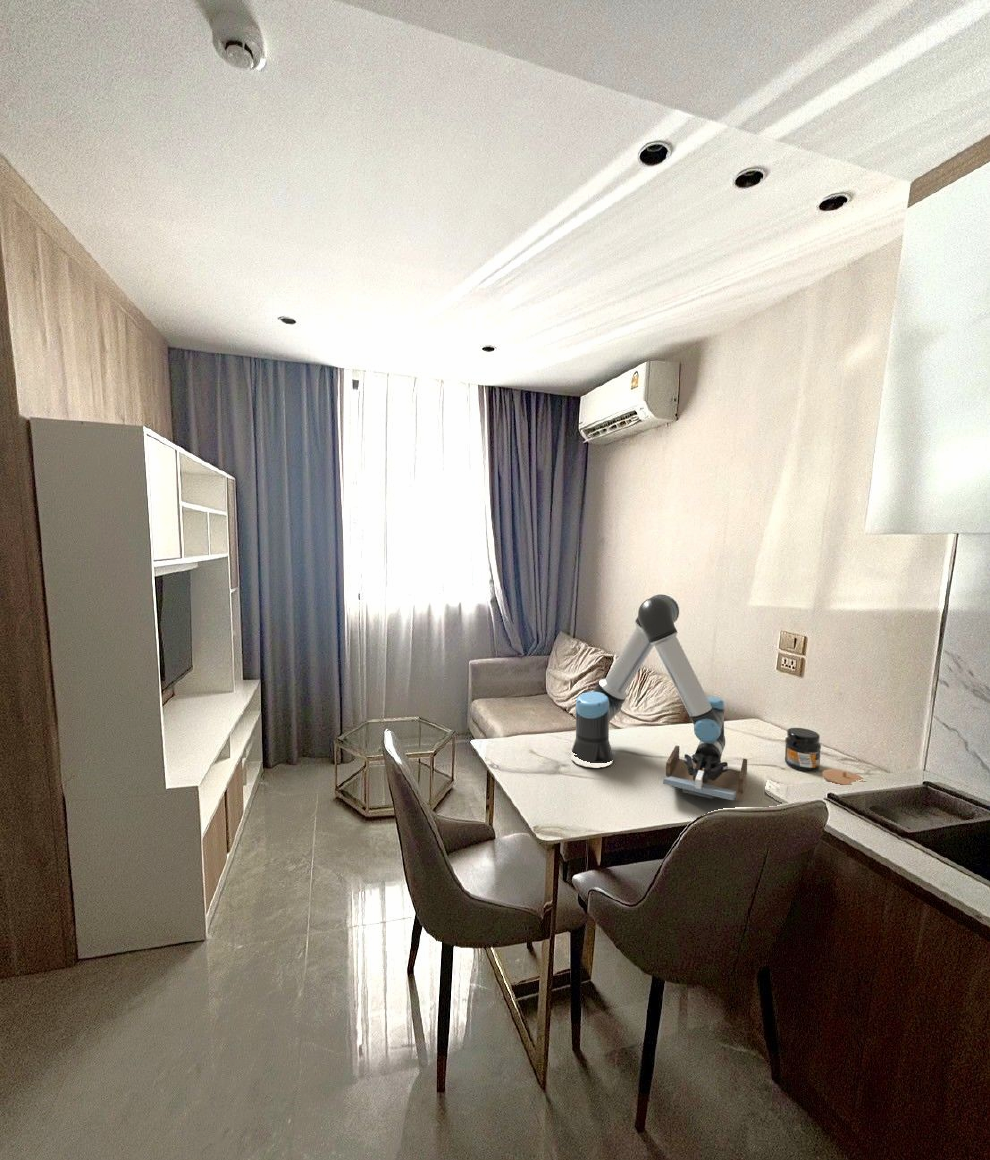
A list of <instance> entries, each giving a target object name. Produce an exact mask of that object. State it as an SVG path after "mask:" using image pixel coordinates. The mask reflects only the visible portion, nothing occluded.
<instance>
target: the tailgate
mask: <svg viewBox="0 0 990 1160" xmlns="http://www.w3.org/2000/svg"><path fill="white" fill-rule="evenodd" d="M662 785H665V786H670V787H675V788H678V789H682V793H685V794H690V795H693V796H697V797H702V798H706V799H711V800H713V797H716V798H721V799H724V800H725V799H726V800H728V801H729V800H730V801H735V800H734V799H735V797H736V793H737V791H733V790H729V789H725V788H720V787H716V786H712V785H707V784H702V787H701V789H697V788H695V782H694V781H690V780H685V779H681V778H676V777H672V776H670V777H667V776H666V777H664V778H663V780H662Z"/></svg>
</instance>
